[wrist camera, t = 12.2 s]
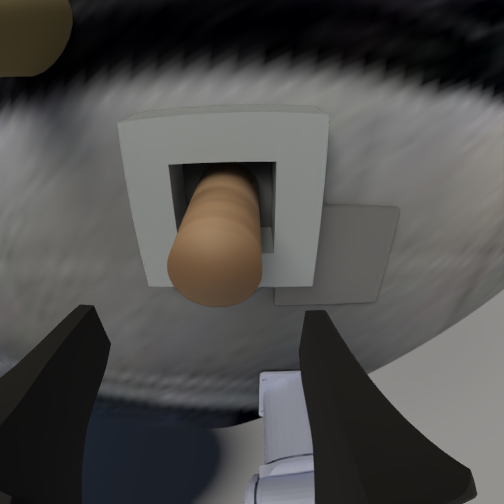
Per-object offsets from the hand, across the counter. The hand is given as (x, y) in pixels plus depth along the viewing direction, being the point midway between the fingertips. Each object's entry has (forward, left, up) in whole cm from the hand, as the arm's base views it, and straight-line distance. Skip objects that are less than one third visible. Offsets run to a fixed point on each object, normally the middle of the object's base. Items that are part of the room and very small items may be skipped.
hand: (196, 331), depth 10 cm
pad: (-4, -7, -10) cm, 13 cm away
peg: (+1, 0, -10) cm, 10 cm away
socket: (+1, 0, -10) cm, 10 cm away
